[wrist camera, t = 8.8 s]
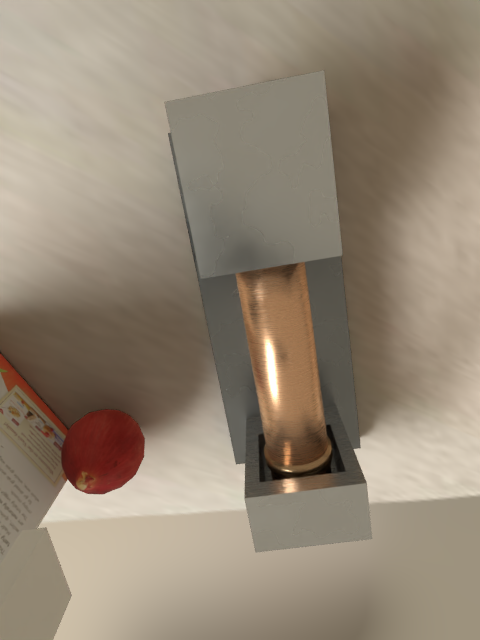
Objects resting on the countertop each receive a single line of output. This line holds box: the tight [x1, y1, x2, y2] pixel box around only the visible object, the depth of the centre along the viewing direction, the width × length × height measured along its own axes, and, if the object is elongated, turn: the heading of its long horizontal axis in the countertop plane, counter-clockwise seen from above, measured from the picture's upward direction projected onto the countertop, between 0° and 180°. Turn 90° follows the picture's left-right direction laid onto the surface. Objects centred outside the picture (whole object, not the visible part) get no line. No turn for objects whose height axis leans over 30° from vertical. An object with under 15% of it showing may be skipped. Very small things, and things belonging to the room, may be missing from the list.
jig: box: [165, 70, 372, 552], centre depth 26 cm, size 10×25×10 cm, turn 10°
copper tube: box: [235, 262, 333, 481], centre depth 26 cm, size 4×18×4 cm, turn 10°
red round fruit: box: [61, 409, 145, 494], centre depth 31 cm, size 6×6×8 cm
